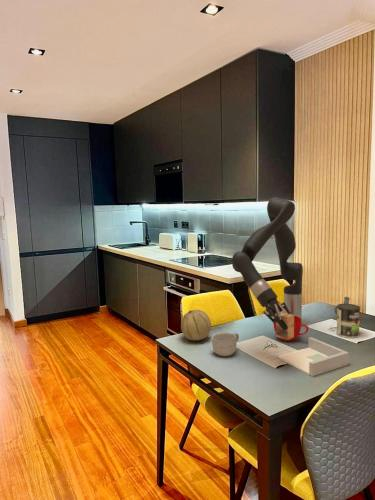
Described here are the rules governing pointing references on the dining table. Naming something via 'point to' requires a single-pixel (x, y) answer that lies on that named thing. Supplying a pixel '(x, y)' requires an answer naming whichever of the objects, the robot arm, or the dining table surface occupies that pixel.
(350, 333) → the coffee can
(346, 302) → the mortar and pestle
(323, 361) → the platform
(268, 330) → the dining table surface
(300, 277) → the robot arm
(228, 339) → the teacup
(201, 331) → the cantaloupe
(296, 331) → the ceramic cup
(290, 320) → the wood block
